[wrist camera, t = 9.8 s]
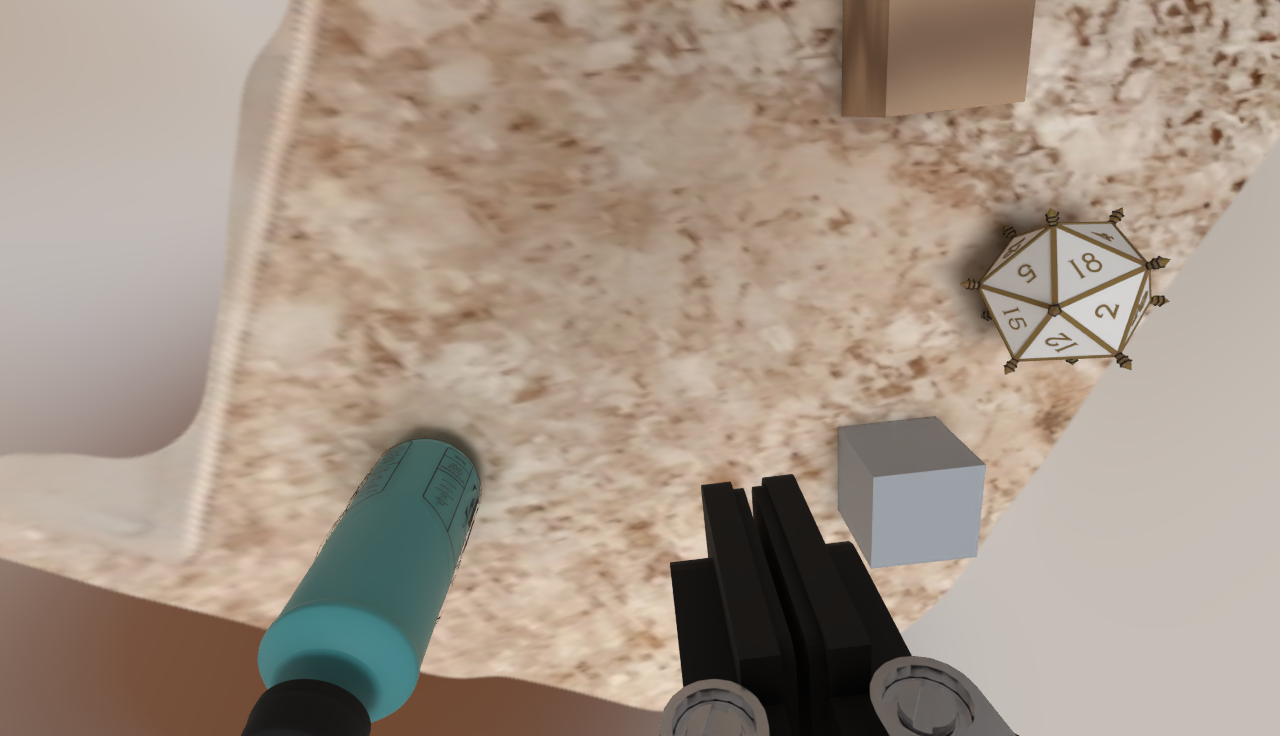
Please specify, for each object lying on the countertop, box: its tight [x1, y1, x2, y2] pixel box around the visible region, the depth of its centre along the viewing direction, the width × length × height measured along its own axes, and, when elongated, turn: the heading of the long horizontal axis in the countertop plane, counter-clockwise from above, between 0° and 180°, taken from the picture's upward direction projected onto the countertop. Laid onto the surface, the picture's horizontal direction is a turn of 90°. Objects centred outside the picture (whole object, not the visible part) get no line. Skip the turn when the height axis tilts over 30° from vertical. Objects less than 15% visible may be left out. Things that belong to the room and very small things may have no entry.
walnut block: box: [842, 0, 1035, 117], centre depth 30 cm, size 6×6×6 cm
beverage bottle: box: [241, 439, 482, 736], centre depth 31 cm, size 6×7×20 cm
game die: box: [961, 207, 1171, 374], centre depth 33 cm, size 9×8×10 cm
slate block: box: [838, 416, 986, 569], centre depth 39 cm, size 6×6×6 cm
